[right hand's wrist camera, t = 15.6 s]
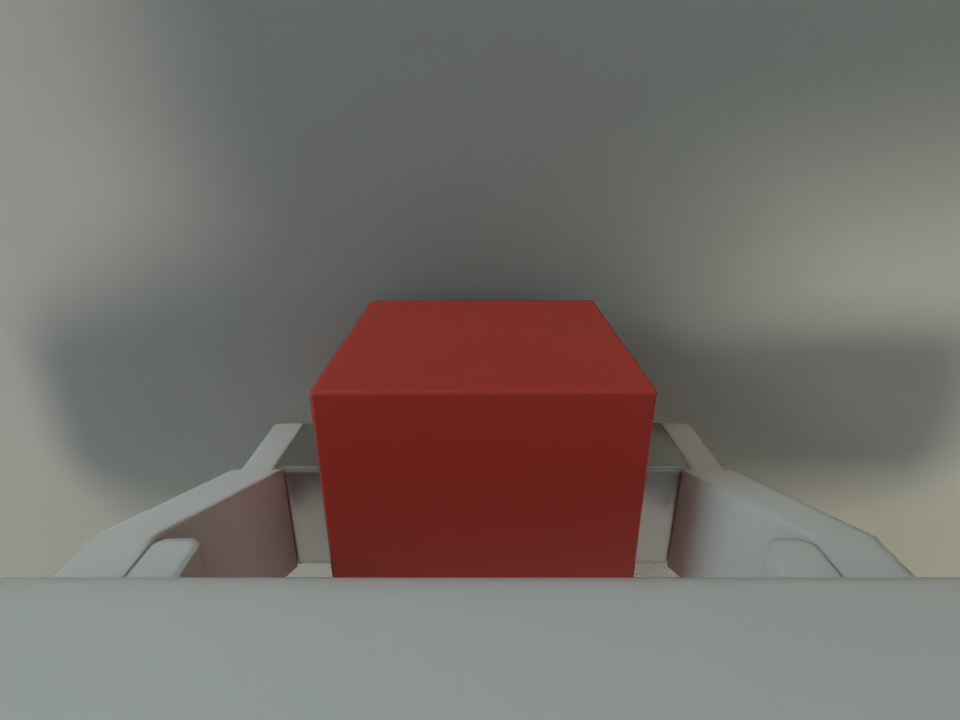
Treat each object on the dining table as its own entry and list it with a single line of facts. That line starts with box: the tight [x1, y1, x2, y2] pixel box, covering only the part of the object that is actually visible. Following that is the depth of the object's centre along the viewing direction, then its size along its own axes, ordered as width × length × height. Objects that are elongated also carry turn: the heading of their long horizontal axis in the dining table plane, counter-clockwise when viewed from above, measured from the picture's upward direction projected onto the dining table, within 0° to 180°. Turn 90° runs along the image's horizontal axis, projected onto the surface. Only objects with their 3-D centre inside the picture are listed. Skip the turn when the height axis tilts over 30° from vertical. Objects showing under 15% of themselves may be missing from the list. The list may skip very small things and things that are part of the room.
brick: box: [309, 300, 657, 577], centre depth 10 cm, size 5×4×4 cm
